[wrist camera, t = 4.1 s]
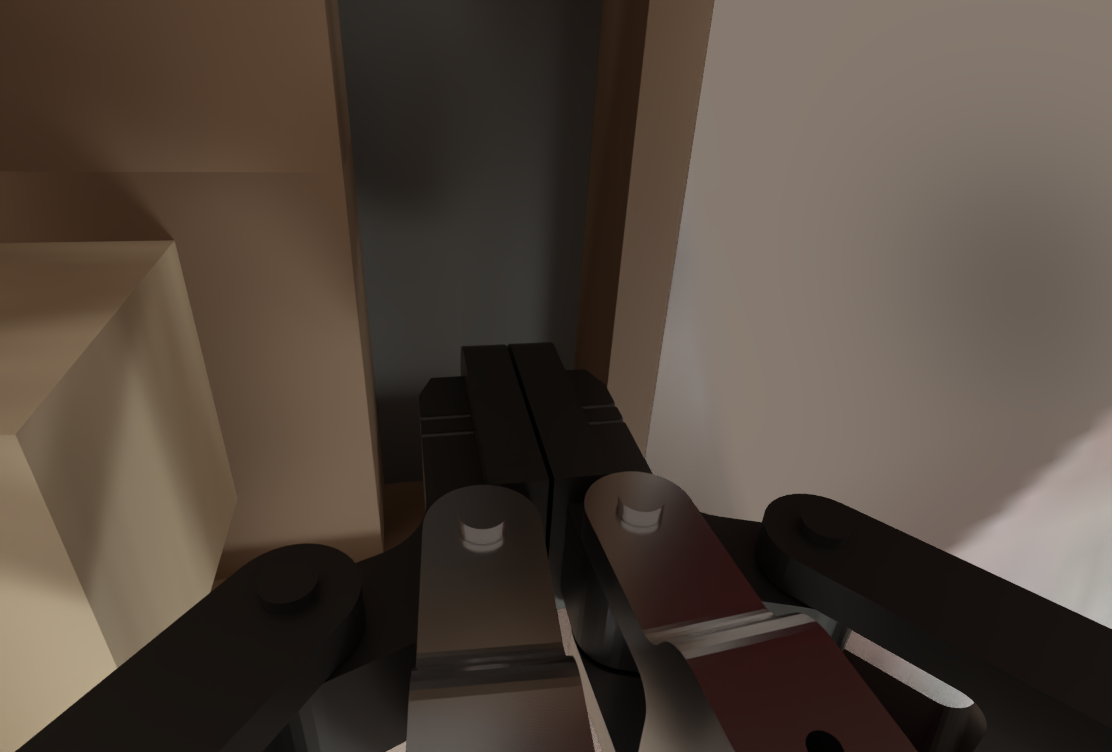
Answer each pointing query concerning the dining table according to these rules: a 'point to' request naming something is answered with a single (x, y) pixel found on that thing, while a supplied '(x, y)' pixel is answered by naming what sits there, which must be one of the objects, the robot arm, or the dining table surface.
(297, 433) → the wooden divided tray
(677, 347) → the dining table surface
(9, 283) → the maple block
